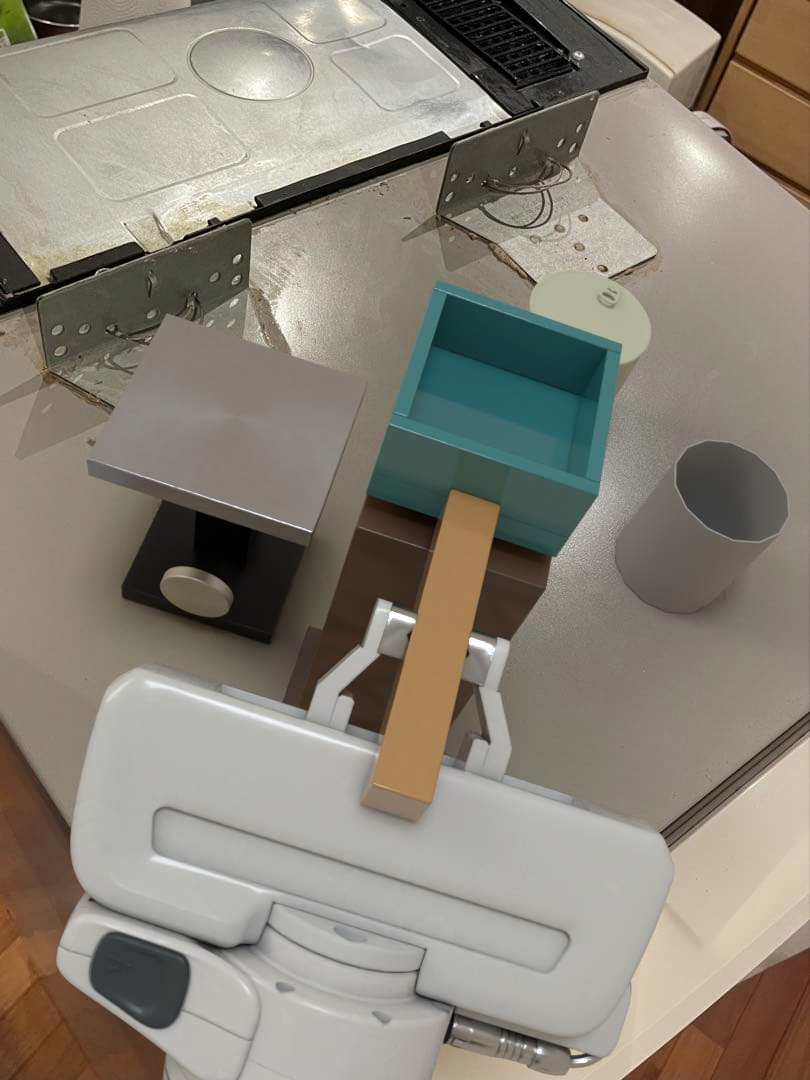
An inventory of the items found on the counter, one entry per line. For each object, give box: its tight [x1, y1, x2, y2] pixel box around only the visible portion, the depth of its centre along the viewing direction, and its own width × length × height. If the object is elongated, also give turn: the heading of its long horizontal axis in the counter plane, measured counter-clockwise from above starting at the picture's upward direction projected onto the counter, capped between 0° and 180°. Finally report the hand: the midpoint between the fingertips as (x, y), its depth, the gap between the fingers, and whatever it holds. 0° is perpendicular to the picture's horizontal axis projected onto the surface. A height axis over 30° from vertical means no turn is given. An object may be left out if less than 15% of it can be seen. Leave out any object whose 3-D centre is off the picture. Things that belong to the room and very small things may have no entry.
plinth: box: [281, 493, 553, 733], centre depth 52 cm, size 10×8×26 cm
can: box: [524, 269, 652, 400], centre depth 75 cm, size 9×9×12 cm
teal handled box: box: [361, 279, 622, 821], centre depth 36 cm, size 8×20×4 cm, turn 166°
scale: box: [86, 313, 369, 645], centre depth 60 cm, size 12×11×16 cm
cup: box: [615, 438, 791, 614], centre depth 70 cm, size 8×8×10 cm
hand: (442, 618), depth 35 cm, fingers closed on teal handled box, 2 cm apart
